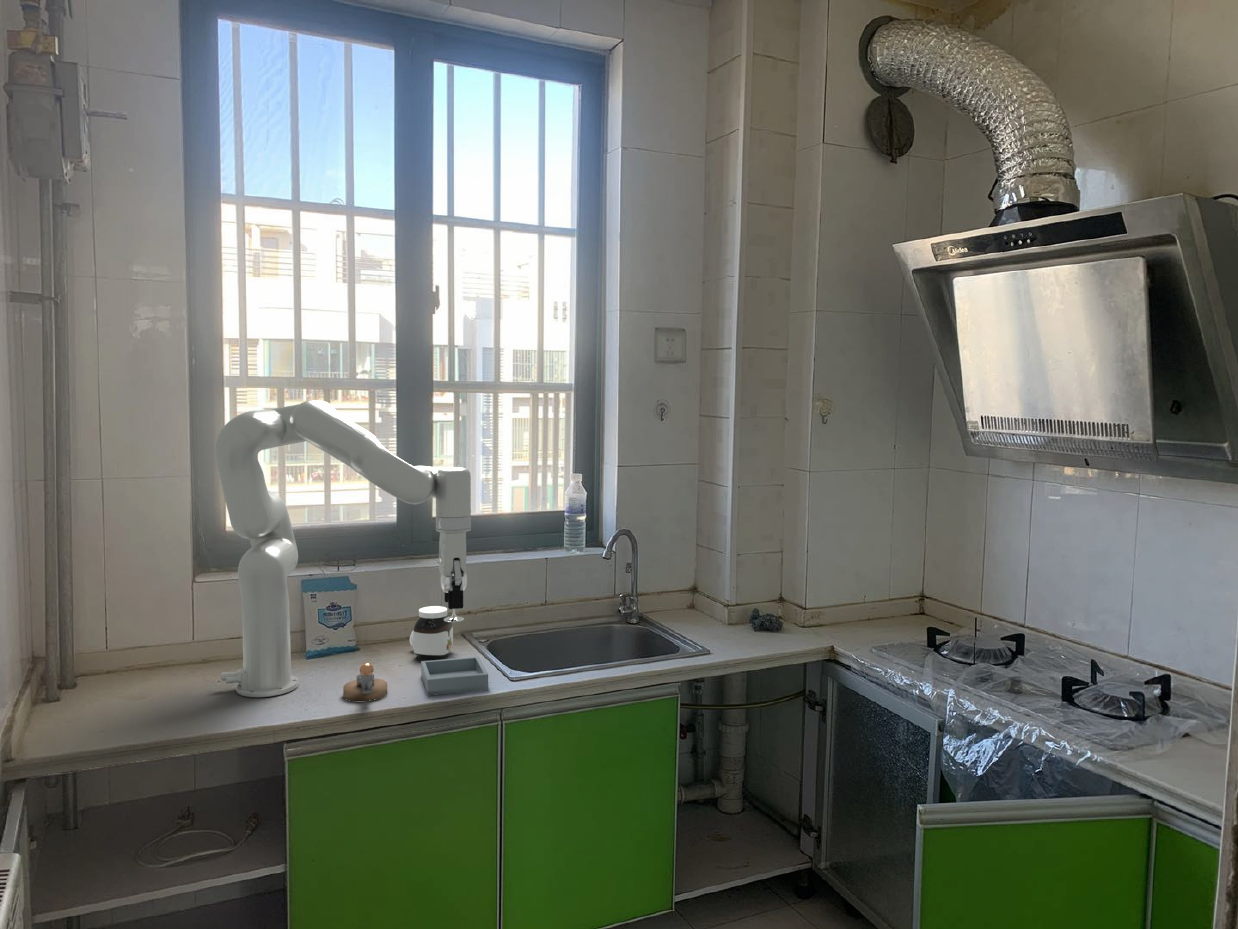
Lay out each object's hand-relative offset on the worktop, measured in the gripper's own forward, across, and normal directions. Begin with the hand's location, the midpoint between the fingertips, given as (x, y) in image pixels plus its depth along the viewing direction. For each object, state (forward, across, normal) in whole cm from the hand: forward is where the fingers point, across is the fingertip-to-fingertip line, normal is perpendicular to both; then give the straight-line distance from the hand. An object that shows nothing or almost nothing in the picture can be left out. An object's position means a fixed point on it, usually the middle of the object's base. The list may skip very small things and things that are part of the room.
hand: (453, 604), depth 192 cm
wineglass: (+4, 0, 0) cm, 4 cm away
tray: (+18, 0, 0) cm, 18 cm away
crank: (+16, +5, -19) cm, 25 cm away
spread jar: (+18, -23, -3) cm, 29 cm away
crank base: (+18, +2, -19) cm, 26 cm away
